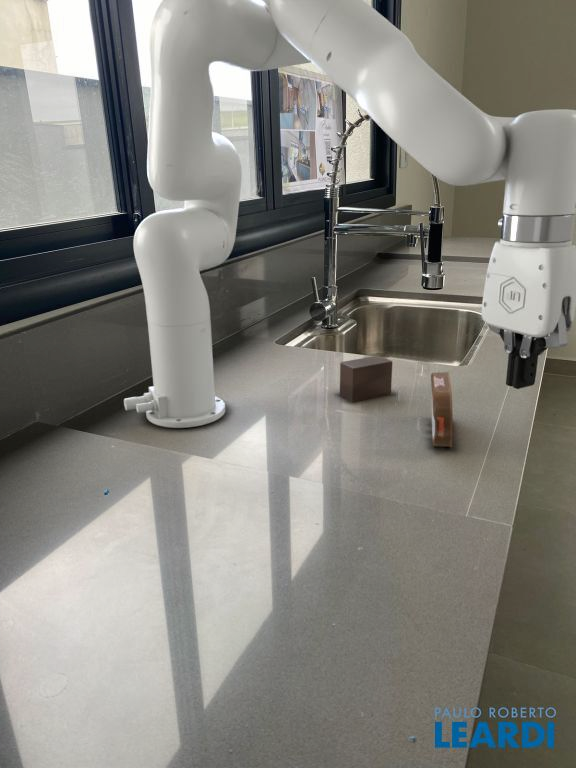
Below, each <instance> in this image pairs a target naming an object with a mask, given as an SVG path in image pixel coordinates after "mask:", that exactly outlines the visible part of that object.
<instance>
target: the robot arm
mask: <svg viewBox="0 0 576 768" xmlns="http://www.w3.org/2000/svg"><path fill="white" fill-rule="evenodd" d="M215 62H216V63H220V64H223V65H226V66H230V67H234V68H236V69H240V70H243V71H249V72H262V71H270V70H276V69H281V68H287V67H291V66H292V67H293V66H298V65H303V64H304V65H305V64H310V63H311V64H313V65H314V66H315V67H316V68H318V69H319V70H320V71H321V72H322V73H323V74H324V75H326V77H328V78H329V79H330V80H331V81H332V82H334V84H336V86H338V87H339V88H340V89H341V90H342V91H343V92H344V93H346V94H347V95H348V96H349V97H350V98H351V99H352V100H353V101H354V102H355V103H357V105H358V106H359V108H360V109H361V110H362V111H363V112H364V113H365V114H366V115H368V116H369V117H370V119H372V120H373V121H374V123H376V125H377V126H378V127H380V128H381V130H382V131H383V132H384V133H385V134H386V135H387V136H388V137H389V138H391V140H392V141H394V142H395V144H397V145H398V146H399V147H400V148H401V149H402V150H404V151H405V153H407V154H408V155H409V156H411V158H413V159H414V160H415V161H416V162H417V163H419V165H420V166H421V167H423V168H424V169H425V170H427V171H428V172H429V173H430V174H431V175H433V176H434V177H435V178H437V180H440V181H442V182H443V183H446V184H448V185H450V186H456V187H466V186H474V185H480V184H485V183H491V182H497V181H498V182H499V181H505V183H504V184H505V185H504V197H503V207H502V218H500V219H499V220H498V222H497V228H498V229H499V230H500V232H501V233H500V239H499V240H498V241H495V243H494V245H493V247H492V249H491V250H492V251H491V254H490V258H489V262H488V265H487V270H486V275H485V280H484V281H485V282H484V287H483V295H482V301H481V302H482V303H481V319H482V321H483V322H484V323H485V324H486V325H488V329H489V330H490V331H492V332H494V333H495V334H496V335H499V336H500V338H501V340H502V342H503V349H504V352H505V353H506V354H508V355H507V356H508V357H507V368H506V378H505V385H506V386H507V387H512V388H513V389H516V390H520V389H524V388H527V387H531V386H532V387H533V386H534V385H535V382H536V379H537V378H536V377H537V369H538V361H539V356H541V355H543V354H544V353H545V351H546V350H548V349H559V348H563V347H566V346H567V345H568V332H569V331H571V329H572V328H573V323H574V319H575V314H576V245H575V244H573V236H574V228H575V221H576V109H566V108H565V109H564V108H563V109H562V108H561V109H560V108H559V109H558V108H557V109H541V110H533V111H532V110H531V111H528V112H524V113H521V114H519V115H517V116H515V117H511V116H509V117H508V116H507V117H506V116H495V115H490V114H488V113H486V112H484V111H483V110H482V109H480V108H479V107H477V106H476V105H475V104H474V103H473V102H472V101H470V100H469V99H468V98H467V97H465V96H464V95H463V94H462V93H461V92H460V91H458V90H457V89H456V88H455V87H454V86H452V85H451V84H450V83H449V82H448V81H447V80H445V79H444V78H443V77H442V76H441V75H440V74H439V73H438V72H437V71H435V69H433V68H432V67H431V66H430V65H429V64H428V63H427V62H426V61H425V60H424V59H423V58H422V57H421V56H420V55H419V53H418V52H417V50H416V49H415V47H414V44H413V42H412V41H411V40H410V38H409V37H408V36H407V35H406V34H405V33H404V32H402V31H401V30H400V29H399V28H397V27H396V26H395V25H394V24H393V23H391V22H390V21H389V19H387V18H386V17H384V16H383V14H381V13H380V12H378V11H377V10H376V9H375V8H374V7H372V5H371V4H369V3H368V2H367V1H365V0H162V1H161V2H160V4H159V5H158V7H157V8H156V11H155V14H154V17H153V19H152V23H151V28H150V34H149V70H150V71H149V72H150V95H149V96H150V98H149V109H148V134H147V155H146V157H147V158H146V173H147V180H148V184H149V186H150V188H151V189H152V191H153V192H154V193H155V194H156V195H157V196H159V197H160V198H163V199H165V200H167V201H173V202H184V208H176V209H175V208H174V209H167V210H160V211H157V212H153V213H151V214H149V215H148V216H147V217H145V218H144V219H143V220H142V221H141V222H140V223H139V225H138V226H137V228H136V229H135V232H134V235H133V243H132V244H133V245H132V247H133V253H134V259H135V262H136V265H137V269H138V272H139V275H140V279H141V284H142V289H143V294H144V302H145V303H144V304H145V311H146V312H145V313H146V321H147V331H148V342H149V351H150V353H149V354H150V362H151V374H152V386H148V392H144V393H143V395H141V396H131V397H126V398H124V399H123V406H124V409H125V411H132V410H136V413H137V414H141V413H145V415H146V416H145V417H146V419H147V420H148V421H149V423H152V424H153V425H156V426H159V427H163V428H169V429H170V428H171V429H186V428H187V429H189V428H196V427H200V426H205V425H208V424H211V423H213V422H216V421H218V420H219V419H220V418H222V417H223V416H224V415H225V413H226V403H225V401H224V400H223V399H221V398H220V397H218V396H216V393H215V391H216V389H215V373H214V357H213V339H212V322H211V309H210V308H211V306H210V301H209V300H210V299H209V295H208V291H207V289H206V285H205V284H204V281H203V279H202V276H201V273H200V272H202V271H205V270H209V269H211V268H215V267H217V266H219V265H222V264H223V263H224V262H225V261H226V260H227V259H228V258H229V256H230V255H231V254H232V252H233V249H234V246H235V241H236V237H237V236H236V235H237V227H238V217H239V207H240V199H241V189H242V177H243V174H242V165H241V159H240V155H239V154H238V152H237V149H236V147H235V146H234V144H233V143H232V142H231V141H230V140H229V139H228V138H227V137H225V136H224V135H221V133H220V134H219V133H218V132H214V131H213V126H214V114H215V90H214V85H213V81H212V77H211V72H210V66H211V64H213V63H215Z"/></svg>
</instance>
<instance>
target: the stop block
mask: <svg viewBox="0 0 576 768" xmlns="http://www.w3.org/2000/svg"><path fill="white" fill-rule="evenodd" d="M392 380H393V360H391V359H388V358H386V357H384V356H381V355H379V354H378V355H372V356H368V357H362V358H355V359H351V360H345V361H340V362H339V396H341V397H342V398H344V399H346V400H347V401H350V402H351V403H355V402H361V401H365V400H369V399H374V398H378V397H379V398H380V397H384V396H388V395H391V394H392V383H393V381H392Z"/></svg>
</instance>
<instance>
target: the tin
mask: <svg viewBox="0 0 576 768" xmlns="http://www.w3.org/2000/svg"><path fill="white" fill-rule="evenodd" d="M430 384H431V385H430V386H431V400H430V417H431V418H430V419H431V441H432V446H433V447H438V448H440V447H441V448H442V447H443V448H452V447H453V435H454V434H453V433H454V432H453V431H454V428H453V423H454V421H453V416H454V414H453V394H452V386H451V379H450V371H445V372H444V371H443V372H432V373H431V374H430Z"/></svg>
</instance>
